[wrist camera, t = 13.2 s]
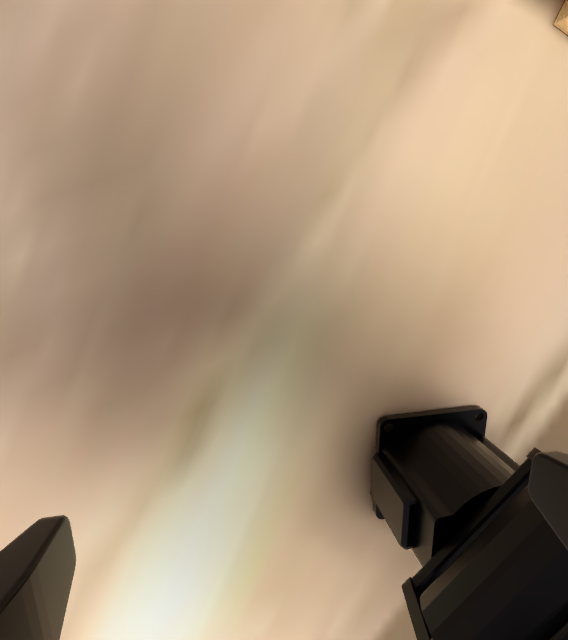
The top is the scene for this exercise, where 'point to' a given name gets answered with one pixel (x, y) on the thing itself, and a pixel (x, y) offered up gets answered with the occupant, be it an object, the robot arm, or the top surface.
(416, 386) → the top surface
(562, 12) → the shaft
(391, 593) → the top surface
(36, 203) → the top surface
